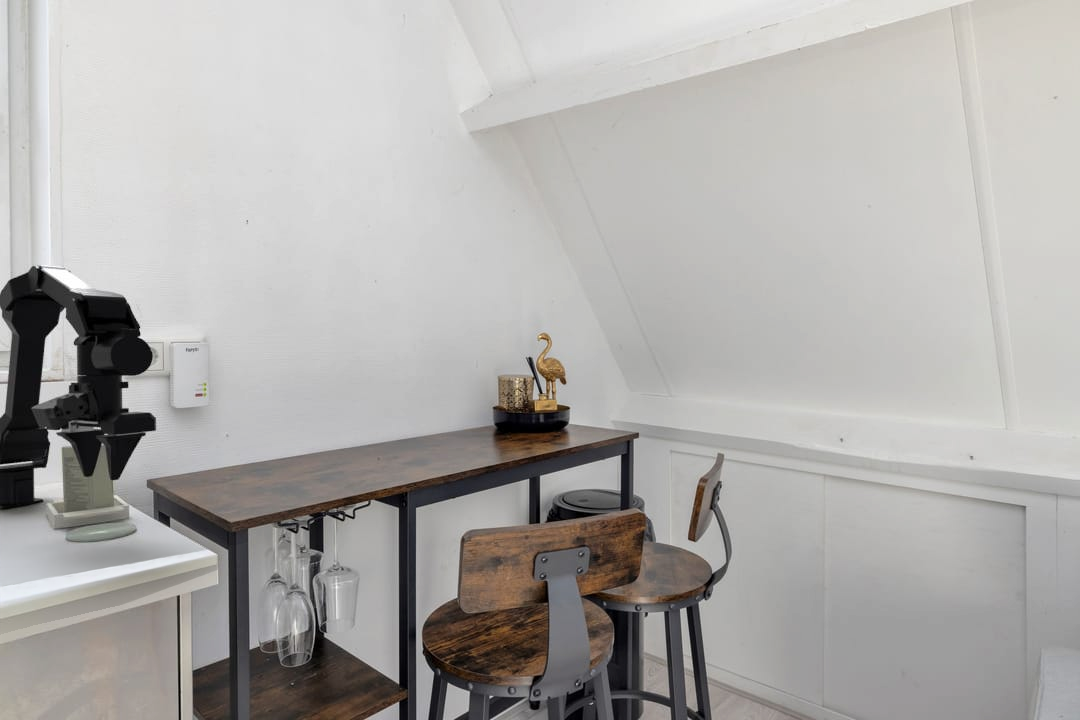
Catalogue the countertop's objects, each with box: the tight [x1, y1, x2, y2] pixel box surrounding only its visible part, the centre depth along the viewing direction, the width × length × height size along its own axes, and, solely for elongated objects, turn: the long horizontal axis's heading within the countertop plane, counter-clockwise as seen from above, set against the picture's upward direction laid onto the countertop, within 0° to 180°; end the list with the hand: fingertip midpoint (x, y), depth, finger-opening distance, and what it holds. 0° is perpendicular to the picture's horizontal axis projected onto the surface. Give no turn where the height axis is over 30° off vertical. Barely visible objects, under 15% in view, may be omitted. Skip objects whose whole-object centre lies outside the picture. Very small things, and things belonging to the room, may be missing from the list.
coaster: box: [65, 522, 137, 543], centre depth 104 cm, size 9×9×1 cm
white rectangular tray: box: [45, 494, 130, 530], centre depth 115 cm, size 18×10×2 cm, turn 41°
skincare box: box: [61, 443, 115, 513], centre depth 115 cm, size 6×4×12 cm
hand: (101, 478), depth 104 cm, fingers open, 6 cm apart
